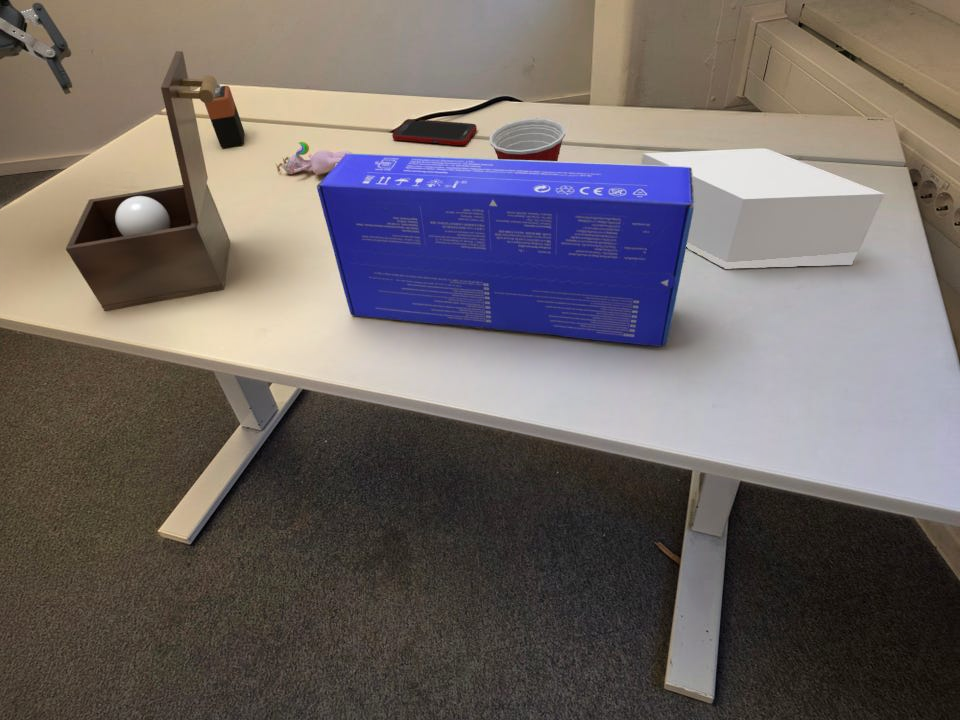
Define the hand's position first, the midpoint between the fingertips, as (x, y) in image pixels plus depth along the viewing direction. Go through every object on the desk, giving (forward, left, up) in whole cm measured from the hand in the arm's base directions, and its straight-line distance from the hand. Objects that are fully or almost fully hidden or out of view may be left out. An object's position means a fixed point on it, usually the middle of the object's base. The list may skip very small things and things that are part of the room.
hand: (31, 101), depth 77 cm
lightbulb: (+9, -10, -21) cm, 25 cm away
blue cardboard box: (+53, -32, -22) cm, 66 cm away
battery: (+16, +34, -22) cm, 43 cm away
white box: (+87, -27, -22) cm, 94 cm away
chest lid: (+18, -10, -4) cm, 21 cm away
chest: (+10, -10, -22) cm, 26 cm away
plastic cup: (+63, -9, -22) cm, 67 cm away
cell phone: (+54, +22, -22) cm, 62 cm away
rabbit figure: (+32, +14, -22) cm, 41 cm away
